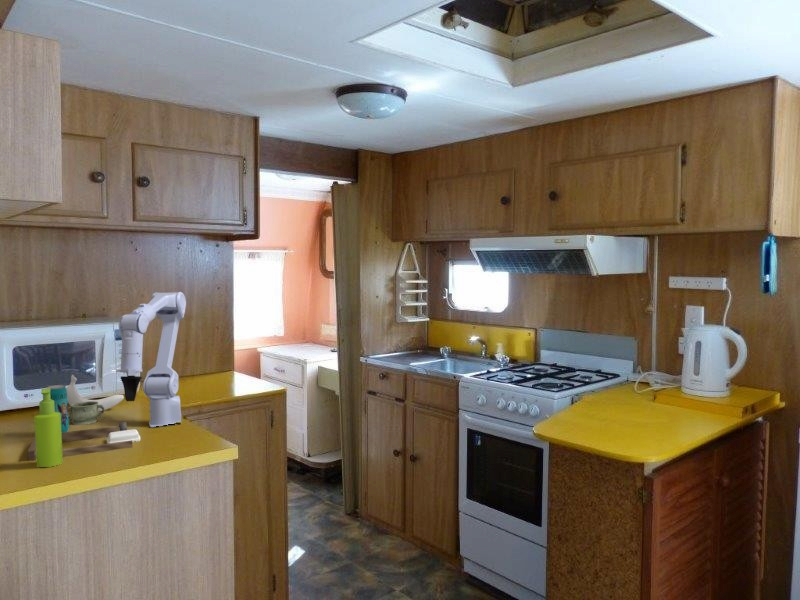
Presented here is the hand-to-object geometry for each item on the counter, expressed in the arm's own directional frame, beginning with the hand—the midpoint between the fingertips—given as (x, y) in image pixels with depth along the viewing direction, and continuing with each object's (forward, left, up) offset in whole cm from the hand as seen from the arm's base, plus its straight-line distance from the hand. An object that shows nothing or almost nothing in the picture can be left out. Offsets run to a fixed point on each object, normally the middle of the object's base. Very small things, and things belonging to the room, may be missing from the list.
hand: (130, 400), depth 181 cm
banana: (+10, -50, -12) cm, 52 cm away
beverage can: (+20, -21, -12) cm, 31 cm away
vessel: (+13, -35, -12) cm, 39 cm away
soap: (+2, -2, -13) cm, 13 cm away
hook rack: (+13, -2, -12) cm, 18 cm away
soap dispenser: (+20, +14, -12) cm, 28 cm away
